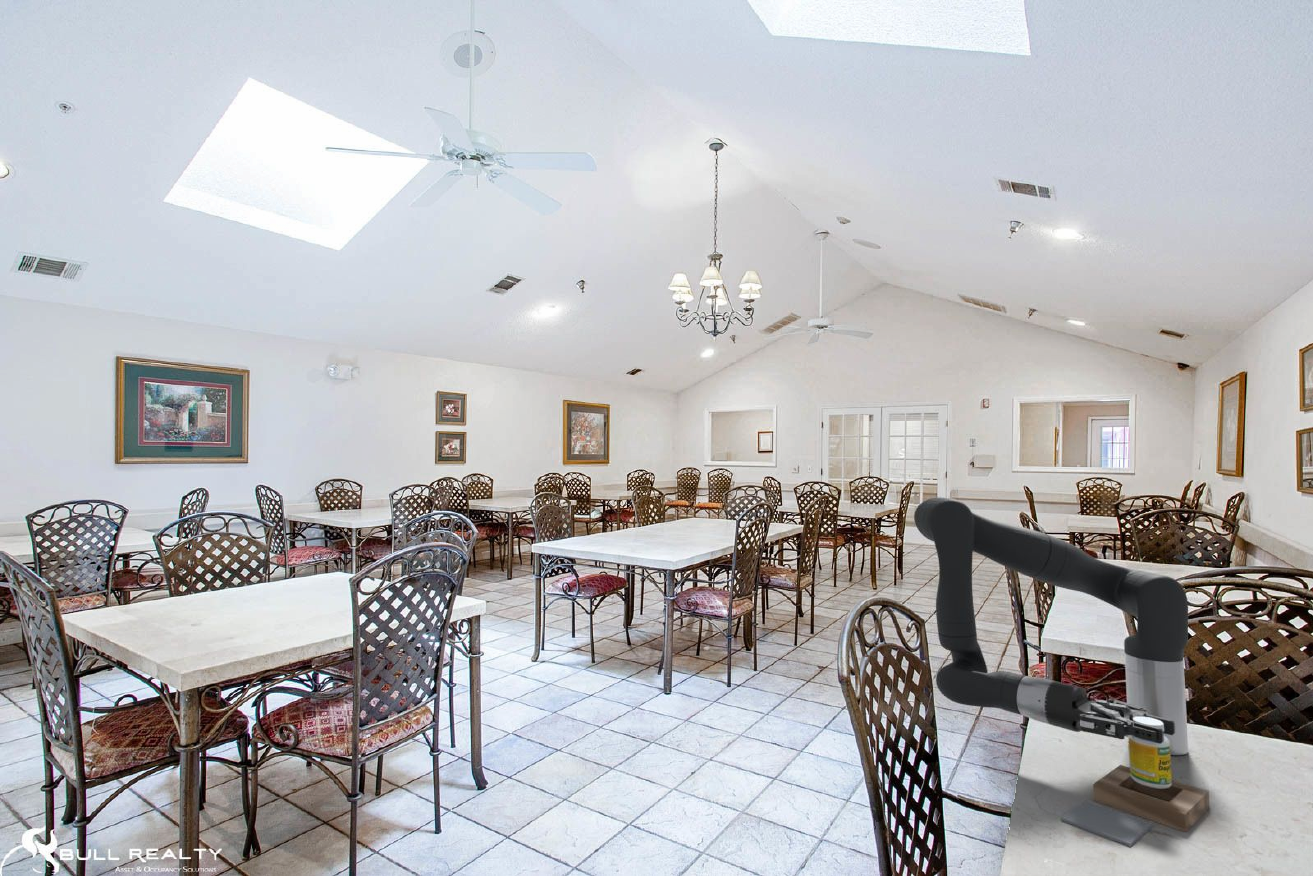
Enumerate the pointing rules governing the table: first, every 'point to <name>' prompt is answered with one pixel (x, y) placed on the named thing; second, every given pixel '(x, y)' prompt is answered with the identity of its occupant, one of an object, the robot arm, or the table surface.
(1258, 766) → the table surface
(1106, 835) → the rubber mat
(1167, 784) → the supplement bottle
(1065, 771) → the table surface
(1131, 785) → the socket block
